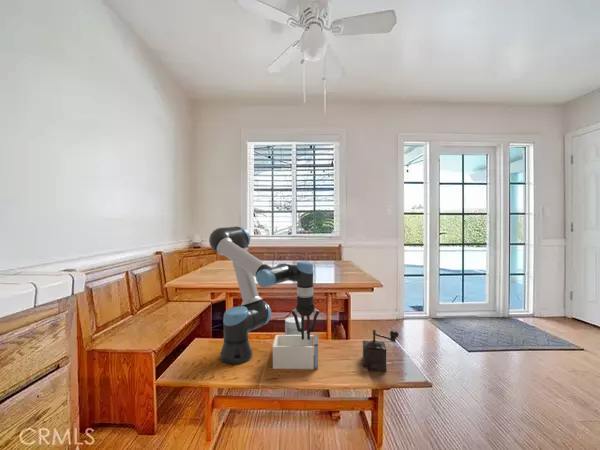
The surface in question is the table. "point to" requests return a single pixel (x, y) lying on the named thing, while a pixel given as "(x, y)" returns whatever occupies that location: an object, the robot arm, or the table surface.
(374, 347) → the dark brown coffee grinder
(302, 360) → the box
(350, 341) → the table surface
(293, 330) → the supplement tub
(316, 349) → the light blue panel
